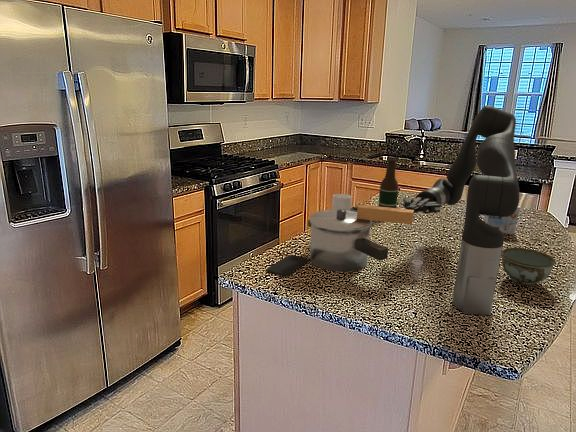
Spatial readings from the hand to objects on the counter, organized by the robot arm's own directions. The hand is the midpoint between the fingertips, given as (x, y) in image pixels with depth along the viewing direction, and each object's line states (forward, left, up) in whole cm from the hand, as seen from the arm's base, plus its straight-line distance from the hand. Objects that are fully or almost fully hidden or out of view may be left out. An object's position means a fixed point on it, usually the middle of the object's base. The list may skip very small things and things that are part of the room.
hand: (410, 210), depth 130 cm
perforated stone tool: (+34, +17, -17) cm, 42 cm away
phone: (-9, +36, -18) cm, 41 cm away
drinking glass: (+22, +21, -17) cm, 35 cm away
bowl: (-8, -32, -17) cm, 37 cm away
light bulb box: (+41, -41, -17) cm, 61 cm away
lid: (-3, +15, -5) cm, 16 cm away
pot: (-4, +19, -17) cm, 26 cm away
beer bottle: (+56, +1, -17) cm, 59 cm away
